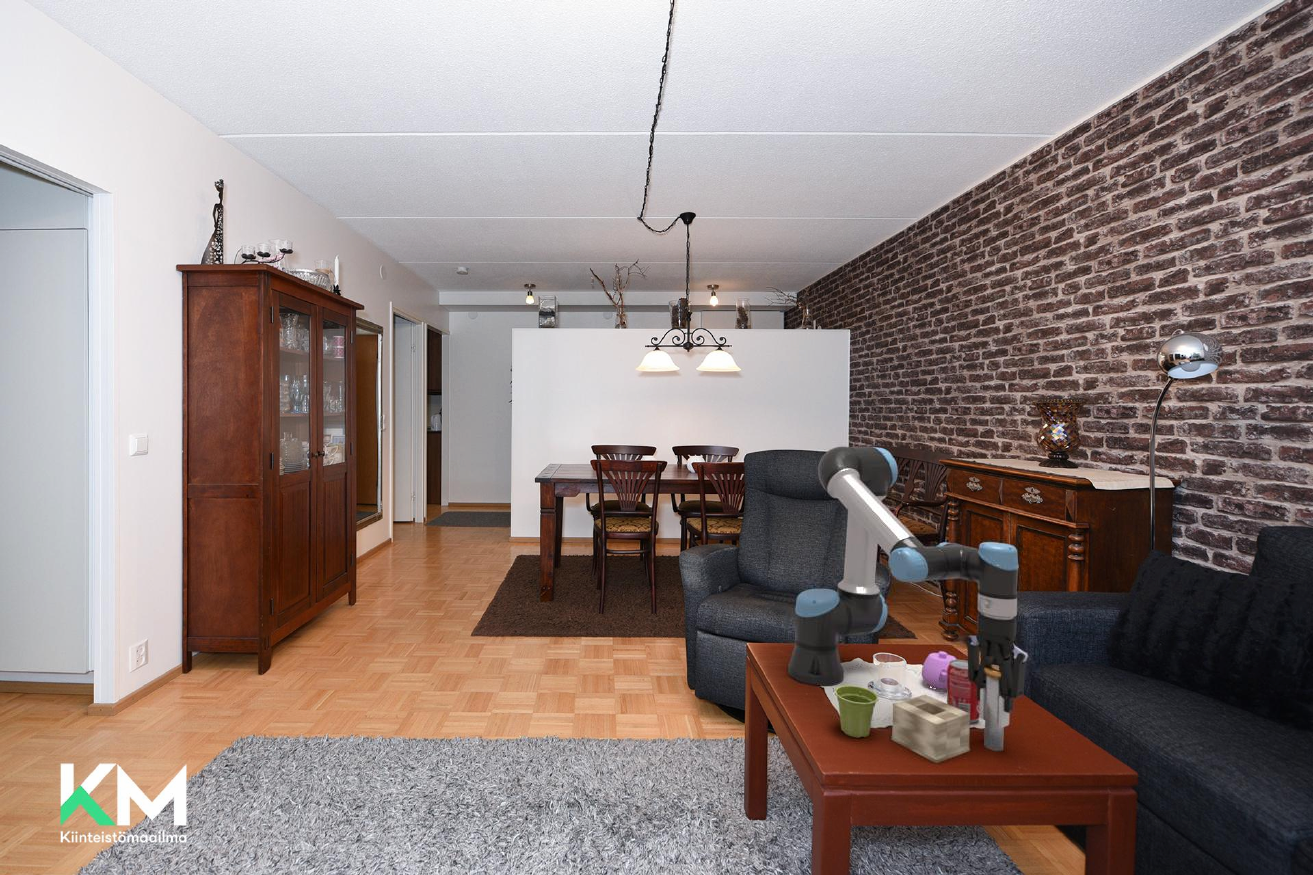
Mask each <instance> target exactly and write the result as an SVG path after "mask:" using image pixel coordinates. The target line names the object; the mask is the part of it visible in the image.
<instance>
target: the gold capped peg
mask: <svg viewBox="0 0 1313 875" xmlns="http://www.w3.org/2000/svg"><path fill="white" fill-rule="evenodd" d="M984 673H985V674H986V695H985V719H984V743H983V745H984V748H986V749H989V750H991V751H994V752H1001V751H1003V750H1004V728H1005V727H1002V728H1001V727H999V726H998V721H999V696H1001V695H1003V692H1002V685H1001V672H999V665H998V664H992V665H990V666H986V667H984Z"/></svg>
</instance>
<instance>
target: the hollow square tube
mask: <svg viewBox="0 0 1313 875" xmlns="http://www.w3.org/2000/svg"><path fill="white" fill-rule="evenodd" d="M970 724H971V723H970V714H969V713H967V712H965V711H962V710H960V709H958V708H955V707H953V706H951V705H948V704H947V702H943V701H941V700H939V699H937V698H934V697H932V696H931V695H927V694H922V695H920V696H918V695H917V696H916V697H911V698H908V699H905V700H901V701H898V702H895V703H893V704H892V729H891V730H892V732H891V733H892V735H891V741H893V742H895V743H897V744H899V745H900V746H903V747H905V748H906V749H908V750H910V751H912V752H914V753H916V754H918V755H920V756H921V757H923V758H925V759H927V760H929V761H931V762H933V763H935V764H938V763H942V762H943V761H944V762H945V761H947V760H950V759H952V758H954V757H958V756H960V755H962V754H964V753H968V752H970V750H971V748H970Z"/></svg>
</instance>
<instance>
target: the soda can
mask: <svg viewBox="0 0 1313 875" xmlns="http://www.w3.org/2000/svg"><path fill="white" fill-rule="evenodd" d="M946 704H948V705H951V706H953V707H955V708H958V709H960V710H962V711H965V712H967V713H969V714H970V724H974V723H976V722H977V721H978V720H980V701H978V700H977V686H976V684H975V683H974V682H971V681H969V679H968V660H964V659H957V660H951V661H950V662H949V666H948V668H947V689H946Z"/></svg>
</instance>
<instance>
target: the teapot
mask: <svg viewBox="0 0 1313 875" xmlns="http://www.w3.org/2000/svg"><path fill="white" fill-rule="evenodd" d="M951 660H958V659H957V657H955V656H954V655H950V654H948V653H947V652H945V651H942V650H941V651H938V653H937V652H932V653H929V654H928V656H927V657H926V659H925V661H924V662H923V664H922V668H921V677H922V678H923V680H924V682H925V683H926V684H927V685H929V687H930V686H931V687H932V688H937V689H944V690H947V668H948V666H949V662H950V661H951Z"/></svg>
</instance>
